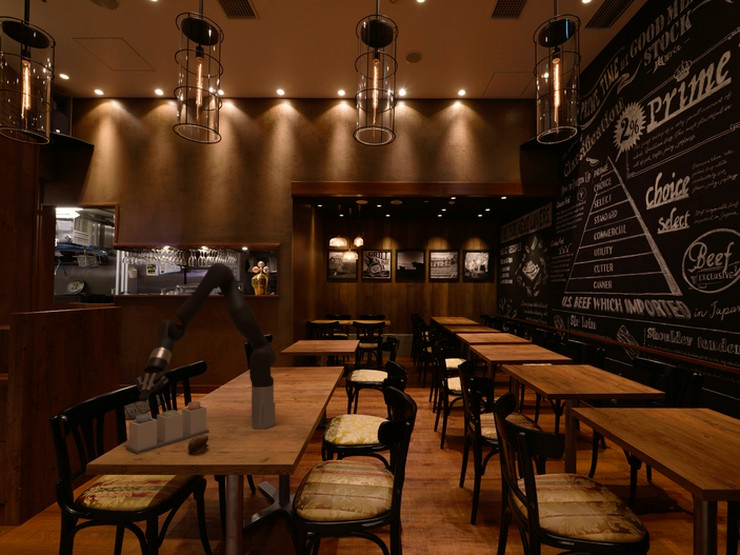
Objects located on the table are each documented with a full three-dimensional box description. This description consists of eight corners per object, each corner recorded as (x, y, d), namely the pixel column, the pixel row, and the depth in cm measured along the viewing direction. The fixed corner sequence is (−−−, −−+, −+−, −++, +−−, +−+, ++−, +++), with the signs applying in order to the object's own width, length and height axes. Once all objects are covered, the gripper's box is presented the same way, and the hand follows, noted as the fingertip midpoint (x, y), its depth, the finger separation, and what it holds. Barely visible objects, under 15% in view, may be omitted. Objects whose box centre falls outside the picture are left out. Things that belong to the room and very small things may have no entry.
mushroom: (217, 438, 147) (206, 426, 145) (209, 454, 139) (198, 442, 137) (200, 447, 148) (189, 435, 146) (191, 463, 140) (180, 452, 138)
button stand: (209, 432, 163) (209, 407, 163) (136, 454, 140) (137, 425, 140) (197, 428, 168) (197, 404, 168) (125, 449, 145) (126, 421, 146)
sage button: (178, 419, 155) (178, 411, 155) (167, 422, 151) (167, 414, 151) (172, 417, 158) (172, 409, 158) (161, 420, 154) (161, 412, 154)
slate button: (152, 422, 147) (152, 414, 147) (139, 425, 143) (139, 417, 143) (146, 420, 150) (146, 412, 150) (133, 423, 146) (133, 415, 146)
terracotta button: (202, 409, 163) (202, 402, 163) (192, 412, 159) (192, 404, 159) (196, 408, 166) (196, 400, 166) (185, 410, 162) (185, 403, 162)
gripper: (138, 356, 156) (120, 395, 143) (172, 355, 157) (158, 394, 144) (144, 367, 161) (127, 406, 148) (178, 367, 162) (164, 405, 149)
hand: (142, 400), depth 146 cm, fingers closed
